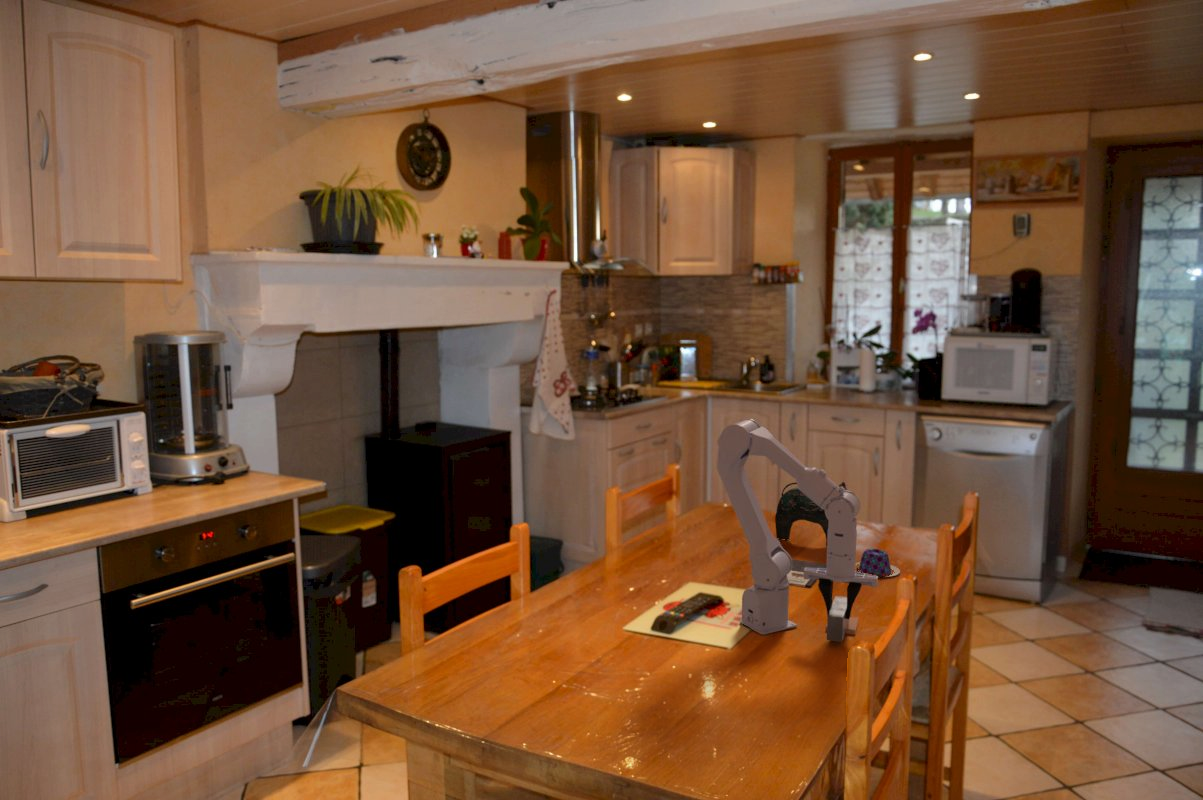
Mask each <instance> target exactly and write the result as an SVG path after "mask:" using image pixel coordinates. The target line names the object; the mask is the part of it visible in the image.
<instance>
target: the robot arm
mask: <svg viewBox="0 0 1203 800" xmlns="http://www.w3.org/2000/svg"><path fill="white" fill-rule="evenodd" d="M716 443H717V447H718V450H717V459H716V470H717V472H718V475H719V477H720V480H721V482H722V484H723V486H724V489H725V492H726V493H727V496H728V499H729V500H730V503H731V505H732V507H733V510H734V512H735V514H736V517H737V519H738V522H739V524H740V527H741V529H742V532H743V533H744V537H745V539H746V540H747V543H748V545H749V547H748V548H749V551H748V560H749V562H750V564H751V571H750V572H751V577H752V580H753V585H751V586H750V587H748V588H746V589H745V590H744V591H743V592H742V593H743V594H742V595H741V619H740V620H738V622H740V623H739V624H741V623H742V624H741V625H743V624H744V625H746V626H748V627H750V628H751V629H750V628H749V629H750V630H753V631H754V632H756V633H758V634H760V635H762V636H763V635H769V634H772V633H776V632H781V631H784V630H789V629H793V628H797V626H798V625H797V623H795V622H794V621H791V620H789V601H790V600H789V599H790V597H789V596H790V585H789V581H788V579H787V574H788V573H789V572H790V571H791V569H792V560H793V559H792V556H791V555H790V553H788V551H787V550H785V549H784V547H783V546H782V543H781V542H780V539H777V537H775V536H774V535H773V533H772V531H771V529H770V527H769V526H770V525H769V523H768V521H767V519H766V517H765V515H764V512H763V510H762V508H761V506H760V503H759V501H758V498H757V496H756V493H755V491H754V489H753V487H752V484H751V482H750V479H749V478H748V475H747V473H746V470H745V465H746V464H747V463H746V462H747V460H748V458H749V456H759V457H760V456H761V457H762V456H763V457H766V458H767V459H768V460H770V461H771V462H773V463H774V464H775V465H776V466H778V467H779V468H780V469H782V470H783V471H784V472H786V473H787V474H788V475H790V476H791V477H792V478H793V479H794V480H796V482H797V484H796V486H797V487H798V489H799V490H800V491H801V492H802V493H804V494H805V495H806V496H807V497H808V498H809V499H811V500H812V501H813V502H814V503H815V504H817V505H818V506H819V507H820V508H821V509H824V510H825V515H826V517H827V519H828V520H829V524H828V535H827V547H826V563H825V564H826V568H805V569H804V579H807V580H808V579H816V580H817V581H818V584H817V586H818V589H819V592H820V594H821V596H822V597H823V601H824V604H825V609H826V614H827V616H826V617H828V614H829V611H830V609H831V606H832V604H833V592H834V590H833V589H834V583H841V584H842V583H844V584H848V585H847V588H846V597H847V609H846V619H850V617H851V613H852V609H853V606H854V603H855V601H856V599H857V596H858V595H859V594H860V591H861V589H862V586H868V587H871V588H874V589H877V588H878V586H879V585H878V584H879V583H878V582H879V577H878V576H875V575H869V574H865V573H861V571H859V572H856V571H855V564H856V563H857V561H856V559H857V556H856V555H857V540H858V539H857V535H858V534H857V533H858V532H857V526H858V524H857V523H858V522H857V518H856V517H857V515H858V514H859V512H860V510H861V502H860V500H859V498H858V497H857V496H856V494H855V493H854V492H853V491H850V490H848V491H846V490H845V488H843V487H842V486H841V487H839V485H838V484H837V483H835V482H834V481H833V480H832V479H830V478H829V477H828V476H827V474H828V473H827V471H826V470H824V469H823V468H822V469H819V468H817V467H807V466H806V465H805V464H804V463H803V462H802V461H801V460H799V459H798V457H796V456H795V455H794V454H793V453H792V452H791V451H790V450H789V449H788V448H786V446H785V445H783V444H782V443H781V442H780V441H779V440H778V439H777V438H776V437H774V435H772V433H771V432H770V431H769V430H768V429H767V428H766V427H765V426H761V425H760V424H759V422H758V421H756V420H754V419H753V418H743V419H740V420H739V421H737V422H735V423H733V424H729V425H727V426H726V427H724V429H723V430H722V431H721V433H720V435H719V437H718V439H717V441H716ZM797 487H796V488H797ZM744 625H743V626H744ZM746 626H745V627H746ZM748 627H747V628H748Z"/></svg>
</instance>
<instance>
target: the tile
mask: <svg viewBox="0 0 1203 800" xmlns="http://www.w3.org/2000/svg"><path fill="white" fill-rule="evenodd" d="M858 626H859V617H855V616H854V617H853V616H850V619H849V623H848V626H847V629H846V632H845V635H852V636H853V635H854V636H856V635H857V630H858ZM825 631H826V632H827V623H826V624H825Z"/></svg>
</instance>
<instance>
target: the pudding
mask: <svg viewBox="0 0 1203 800" xmlns="http://www.w3.org/2000/svg"><path fill="white" fill-rule="evenodd" d="M890 562H891V561H890V557H889V554H888V552H887V551H886V550H882V549H877V548H867V549H866V550H864V551H863V553H862V554H861V558H860V561H858V562H856V564H855V565H857V564H859V568H858V569H859V570H861V571H860V572H863V573H868V574H872V575H886V574H890V575H889V576H888V575H886V576H885V577H884V578H890V577H894V576H898V575H899V574H900V573H901V570H900V569H899V568H898V567H897V566H895V565H892V564H891V563H890ZM891 569H892V570H894V572H895V573H894V572H893V574H892V571H891ZM859 570H858V571H859ZM891 574H892V575H891Z"/></svg>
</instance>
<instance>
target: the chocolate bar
mask: <svg viewBox="0 0 1203 800" xmlns="http://www.w3.org/2000/svg"><path fill="white" fill-rule="evenodd" d="M805 568H826V563H820V562H812V561H808V560H798V559H792V569H791V571H790V572H789V573H788V574H787V579H788V581H789V586H794V585H796V586H795V587H801V586H803V587H802V588H807V587H808V588H809V589H811V588H812V587H813V586H814V584H815V583H816V582H817V581H816V579H808V580H807V579H804V569H805ZM812 585H813V586H812Z"/></svg>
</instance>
